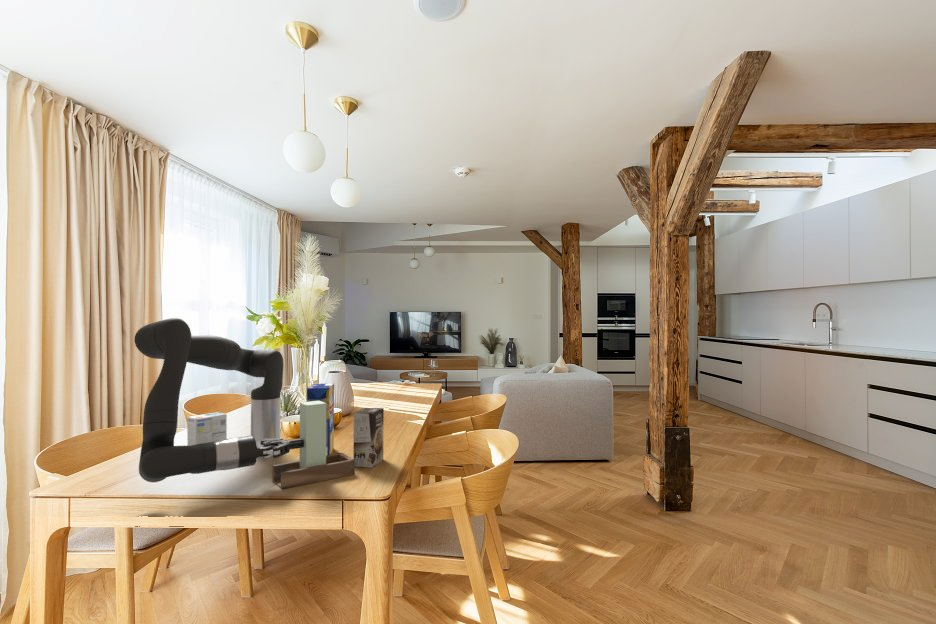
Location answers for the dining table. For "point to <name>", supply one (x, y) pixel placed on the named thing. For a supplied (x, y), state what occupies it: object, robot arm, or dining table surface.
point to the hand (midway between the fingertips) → (302, 442)
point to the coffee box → (368, 437)
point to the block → (313, 433)
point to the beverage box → (327, 396)
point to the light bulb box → (206, 428)
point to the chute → (312, 471)
